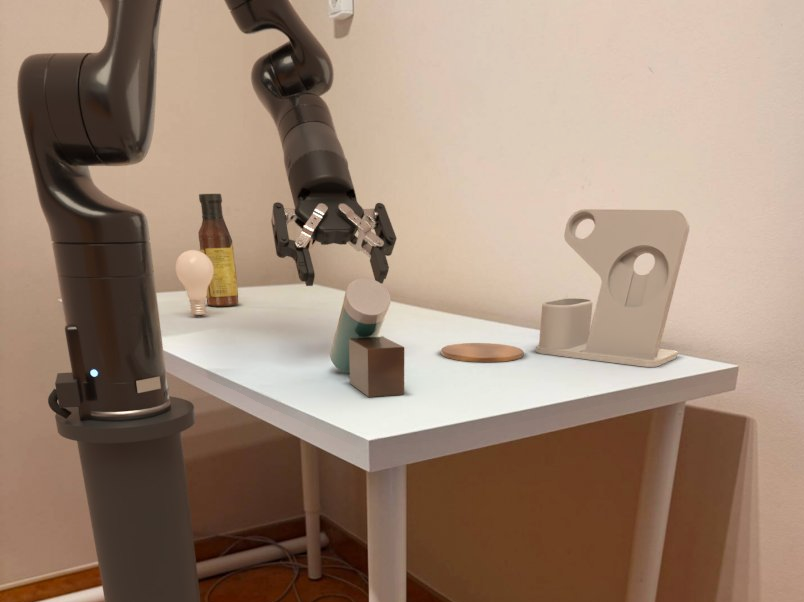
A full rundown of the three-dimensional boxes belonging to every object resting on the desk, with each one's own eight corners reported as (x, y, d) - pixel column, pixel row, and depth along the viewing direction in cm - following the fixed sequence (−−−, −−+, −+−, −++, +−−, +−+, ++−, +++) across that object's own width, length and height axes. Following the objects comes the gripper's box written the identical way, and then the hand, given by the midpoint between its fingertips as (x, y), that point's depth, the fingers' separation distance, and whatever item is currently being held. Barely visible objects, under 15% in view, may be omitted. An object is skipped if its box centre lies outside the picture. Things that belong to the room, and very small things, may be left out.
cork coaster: (461, 364, 96) (461, 359, 96) (429, 349, 105) (429, 345, 105) (538, 359, 99) (538, 354, 99) (500, 345, 109) (500, 341, 109)
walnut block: (368, 397, 79) (367, 349, 77) (349, 383, 85) (348, 338, 83) (404, 394, 81) (404, 346, 79) (383, 381, 87) (383, 336, 85)
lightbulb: (188, 320, 129) (181, 251, 125) (175, 315, 134) (167, 249, 129) (223, 317, 133) (217, 250, 128) (209, 313, 137) (203, 248, 133)
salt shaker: (352, 388, 83) (350, 281, 78) (326, 369, 92) (323, 272, 88) (395, 385, 84) (395, 280, 80) (365, 366, 94) (363, 271, 89)
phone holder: (529, 352, 104) (540, 208, 97) (562, 342, 112) (574, 208, 104) (653, 367, 95) (676, 210, 87) (680, 356, 102) (703, 210, 95)
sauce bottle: (245, 305, 149) (237, 193, 141) (221, 308, 144) (211, 193, 136) (222, 302, 152) (212, 193, 144) (198, 305, 147) (186, 193, 139)
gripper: (367, 197, 99) (396, 299, 94) (257, 196, 94) (282, 303, 89) (379, 149, 92) (412, 256, 87) (262, 146, 87) (289, 258, 82)
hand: (346, 280), depth 88 cm, fingers open, 8 cm apart
